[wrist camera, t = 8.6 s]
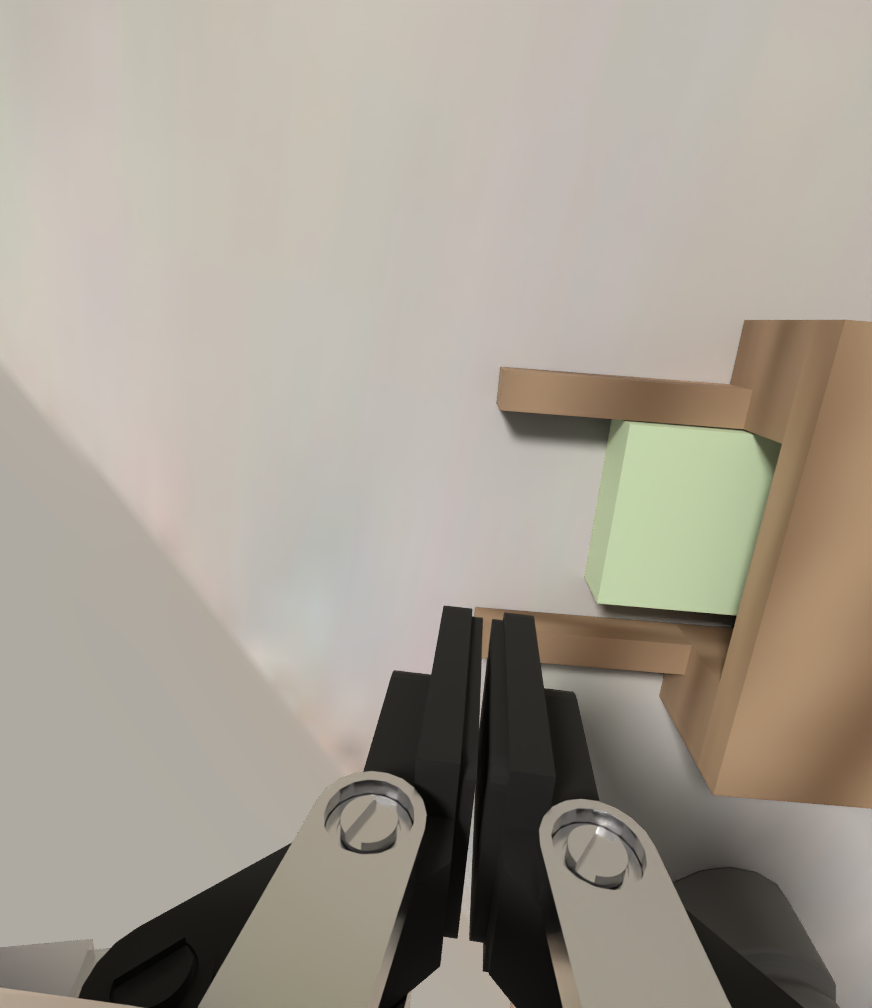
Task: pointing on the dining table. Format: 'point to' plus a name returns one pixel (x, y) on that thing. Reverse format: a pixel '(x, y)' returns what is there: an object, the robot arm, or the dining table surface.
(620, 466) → the tile
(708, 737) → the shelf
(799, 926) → the candle holder
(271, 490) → the dining table surface
